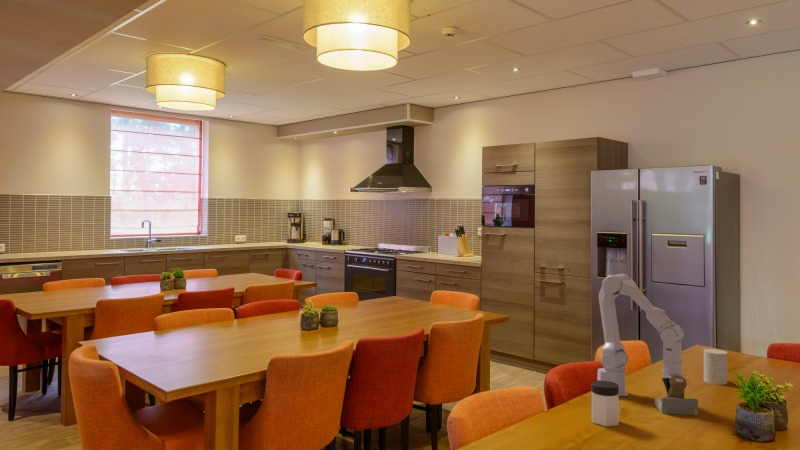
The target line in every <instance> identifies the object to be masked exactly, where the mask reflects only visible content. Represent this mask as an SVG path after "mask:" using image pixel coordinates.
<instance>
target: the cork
mask: <svg viewBox="0 0 800 450" xmlns="http://www.w3.org/2000/svg"><path fill="white" fill-rule="evenodd" d="M675 378H676V379H678V378H679V379H680V380H682V379H683V382H677V381H676V379H675ZM679 379H678V380H679ZM669 383H670V385H671V386H670V389H669V392H668V395H666V397H668V398H685V389H686V387H687V386H688V384H687V380H686V379H685V377H681V376H672V377H671V378H670V380H669Z"/></svg>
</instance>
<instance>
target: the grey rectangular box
mask: <svg viewBox="0 0 800 450" xmlns="http://www.w3.org/2000/svg"><path fill="white" fill-rule="evenodd" d="M698 405H699V400H698V398H686V397H684V398H668V397H667V396H666V397H663V396H661V399H660V398H659V397H654V406H655V407H656V408H657V409H658V410H659V411H660V412H661V413H662V414H666V415H685V416H686V415H688V416H689V415H690V416H698V415H699V414H698V413H699V412H698V411H699V410H698V409H699V406H698Z"/></svg>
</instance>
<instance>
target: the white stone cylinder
mask: <svg viewBox="0 0 800 450" xmlns="http://www.w3.org/2000/svg"><path fill="white" fill-rule="evenodd" d="M703 381H704V382H705V383H707V384H711V385H718V386H720V385H723V386H724V385H727V384H728V351H725V350H722V349H715V348H705V349H703Z"/></svg>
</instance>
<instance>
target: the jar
mask: <svg viewBox="0 0 800 450" xmlns="http://www.w3.org/2000/svg"><path fill="white" fill-rule="evenodd" d="M590 385H591V387H590V389H591V391H590V393H591V395H590V396H591V397H590V398H591V402H590V404H591V405H590V406H591V407H590V408H591V415H590V416H591V422H592V423H593V424H596V425H598V424H599V426H602V427H605V426H606V427H614V426H619V424H620V423H619V422H620V420H619V414H620V408H619V403H620V402H619V401H620V398H619V397H620V396H619V395H618V393H619V386H618V384H616V383H614V382H610V381H597V380H593V381H592V382H591V384H590Z"/></svg>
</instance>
